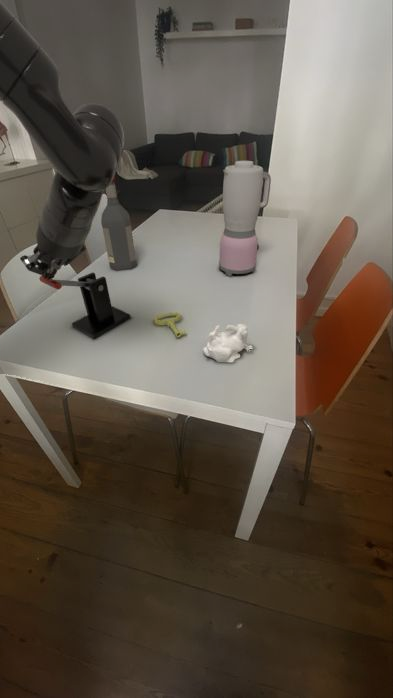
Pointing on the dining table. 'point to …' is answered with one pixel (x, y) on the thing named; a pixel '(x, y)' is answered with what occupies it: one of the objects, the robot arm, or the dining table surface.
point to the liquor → (117, 233)
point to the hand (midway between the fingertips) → (47, 275)
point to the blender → (241, 216)
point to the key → (170, 322)
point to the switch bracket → (98, 309)
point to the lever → (65, 283)
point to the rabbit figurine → (227, 343)
